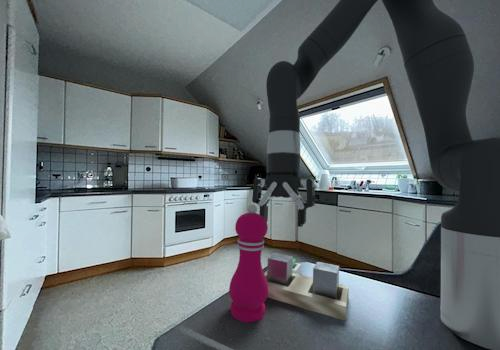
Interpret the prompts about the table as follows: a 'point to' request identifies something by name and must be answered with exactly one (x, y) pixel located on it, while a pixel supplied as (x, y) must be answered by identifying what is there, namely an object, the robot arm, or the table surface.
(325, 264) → the block
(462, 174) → the robot arm
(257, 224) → the pepper mill
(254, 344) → the table surface
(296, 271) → the button housing
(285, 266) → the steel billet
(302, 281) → the wooden tray
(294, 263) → the button
